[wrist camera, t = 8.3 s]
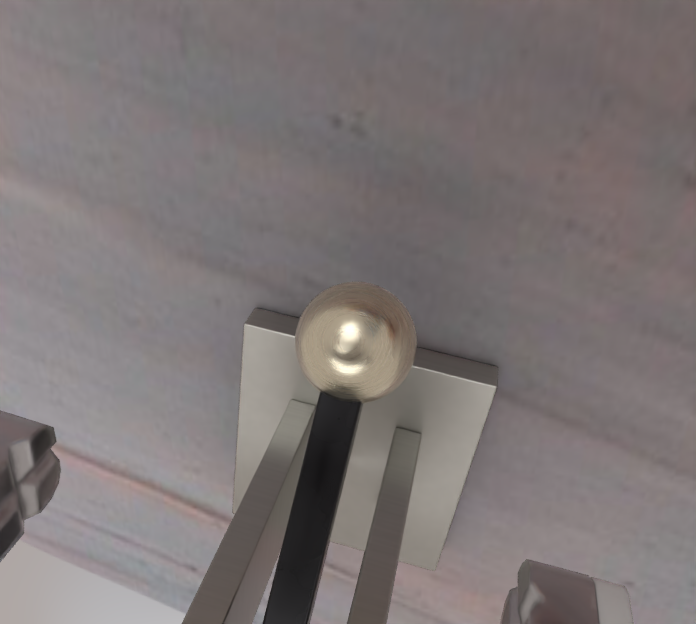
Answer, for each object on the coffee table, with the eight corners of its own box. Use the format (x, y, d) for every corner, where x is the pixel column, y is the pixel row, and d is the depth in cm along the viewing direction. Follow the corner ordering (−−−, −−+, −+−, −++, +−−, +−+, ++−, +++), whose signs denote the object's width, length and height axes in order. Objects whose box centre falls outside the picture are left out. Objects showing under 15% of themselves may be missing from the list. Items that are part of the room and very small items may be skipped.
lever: (320, 277, 19) (301, 261, 15) (428, 302, 18) (431, 291, 15) (209, 721, 18) (166, 799, 15) (318, 757, 18) (297, 845, 15)
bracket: (255, 306, 24) (34, 621, 13) (498, 366, 22) (481, 763, 12) (241, 493, 29) (78, 826, 18) (438, 548, 28) (387, 937, 17)
